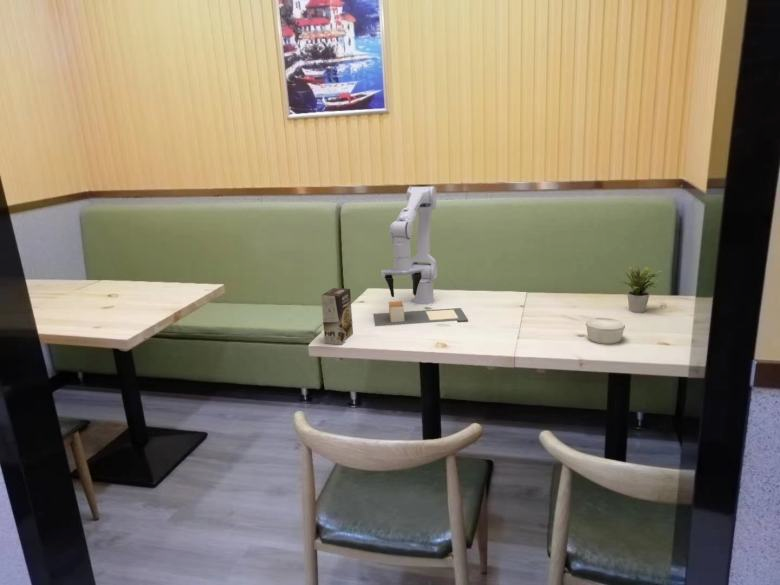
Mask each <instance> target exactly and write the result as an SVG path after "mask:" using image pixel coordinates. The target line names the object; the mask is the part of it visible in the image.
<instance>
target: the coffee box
mask: <svg viewBox="0 0 780 585" xmlns="http://www.w3.org/2000/svg"><path fill="white" fill-rule="evenodd" d="M320 297H321V308H322V309H321V311H322V321H323V322H322V323H323V324H322V325H323V337H324V344H330V345H331V344H332V345H341V346H342V345H344V343H345V342H346V341H347V340H348V339H349V338H351V336H352V335H354V329H353V328H354V327H353V325H354V324H353V313H352V296H351V288H341V287H340V288H335V287H334V288H331V289H329V290H327V291H326V292H325V293H323V294H321V296H320Z"/></svg>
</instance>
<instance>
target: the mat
mask: <svg viewBox="0 0 780 585" xmlns="http://www.w3.org/2000/svg"><path fill="white" fill-rule="evenodd" d="M440 310H454V311H455V313H456V315H457V316H458V319H445V320H431V321H430V320H429V318H428V315H427V313H426V311H440ZM464 312H465V311H463V309H462V308H461V307H455V308H441V309H425V310H410V311H404V321H402V322H391V320H390V315H389V312H379V313H372V314H373V321H374V326H375V327H384V326H385V327H386V326H398V325H399V326H400V325H401V326H402V325H412V324H414V325H415V324H428V323H441V322H443V323H445V322H457V323H465V322H466V323H467V322H469V319H468V317H467V316H466V314H465V313H464Z"/></svg>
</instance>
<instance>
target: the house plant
mask: <svg viewBox="0 0 780 585" xmlns="http://www.w3.org/2000/svg"><path fill="white" fill-rule="evenodd" d="M628 267H629V270H630V274H629V273H628V272H626V271H625V270H623V272H624V273H625V274H626V276H627V277H628V278H629V280H630V281H628V282H627V281H624V280H622V281H620V282H619V283H621V284H625V285H628V286H629V287H630V288H631V290H630V291H629V290H628V291H627V293H626V294H627V300H628V302H627V303H628V310H629V312H632V313H640V314H642V313H645V312H646V311H647V306H648V302H649V298H650V293H649V292H648V291H647V290H649V289H650V288H651V287H652V288H655V289H657V287H656V285H655V282H656V283H657V280H653V281H650V280H651V279H652V278H655V277H657V275H658V274H659V273H660V272H662V270H659V271H656V272H653V273H652V274H649V272H650V270H651V268H652V267H651V266H650V267H648V265H646V266H645V268H644V269H643V271H642V272H641V270H640V269H639V265H638V264H637V265H636V269H637V270H634V269H633V267H631V266H628ZM660 276H661V275H660V274H659V277H660Z"/></svg>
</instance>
